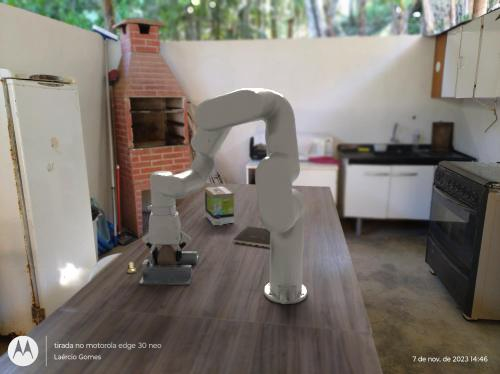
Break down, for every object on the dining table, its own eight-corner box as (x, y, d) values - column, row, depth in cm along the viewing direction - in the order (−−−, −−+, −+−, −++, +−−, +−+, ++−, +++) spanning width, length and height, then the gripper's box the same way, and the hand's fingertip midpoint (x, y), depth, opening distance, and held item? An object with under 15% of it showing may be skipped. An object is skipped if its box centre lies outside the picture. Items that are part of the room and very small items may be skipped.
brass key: (136, 273, 125) (136, 270, 125) (127, 274, 124) (127, 272, 124) (135, 263, 132) (135, 261, 131) (127, 265, 131) (126, 262, 131)
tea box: (234, 223, 172) (234, 192, 168) (213, 226, 168) (212, 194, 165) (224, 214, 185) (224, 185, 182) (204, 216, 182) (203, 187, 178)
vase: (169, 261, 131) (168, 237, 129) (182, 266, 127) (181, 242, 125) (153, 268, 126) (151, 244, 124) (166, 274, 122) (164, 249, 120)
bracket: (189, 284, 117) (188, 270, 115) (139, 284, 117) (138, 269, 116) (198, 257, 137) (198, 244, 135) (156, 256, 137) (155, 244, 136)
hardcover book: (289, 252, 142) (289, 246, 141) (233, 244, 150) (233, 238, 149) (299, 237, 156) (300, 232, 156) (248, 230, 164) (248, 225, 164)
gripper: (133, 213, 118) (138, 265, 122) (189, 212, 118) (191, 265, 122) (141, 206, 125) (145, 255, 130) (192, 206, 125) (195, 255, 129)
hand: (167, 260), depth 126 cm, fingers closed on vase, 6 cm apart
